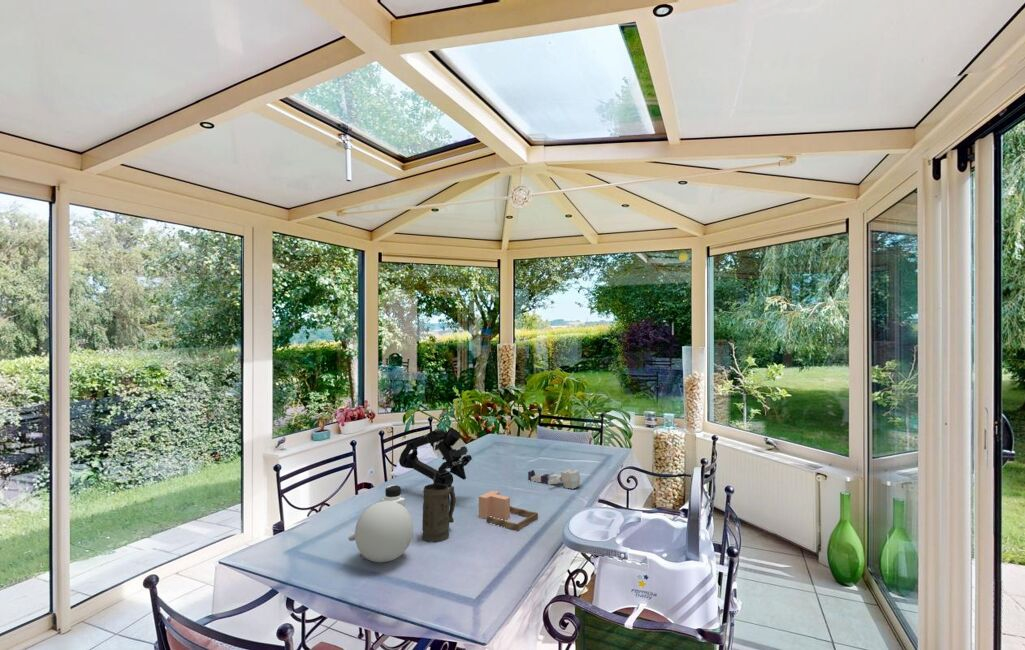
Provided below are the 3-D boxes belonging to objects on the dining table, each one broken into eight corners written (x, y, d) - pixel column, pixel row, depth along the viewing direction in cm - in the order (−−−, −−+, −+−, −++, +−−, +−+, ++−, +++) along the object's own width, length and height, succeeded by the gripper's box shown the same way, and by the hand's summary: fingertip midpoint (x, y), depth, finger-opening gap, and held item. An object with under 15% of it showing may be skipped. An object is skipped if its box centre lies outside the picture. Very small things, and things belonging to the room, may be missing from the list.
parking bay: (486, 522, 197) (486, 516, 197) (507, 511, 210) (507, 505, 210) (517, 531, 188) (517, 525, 188) (537, 518, 201) (537, 513, 201)
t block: (478, 517, 203) (478, 496, 204) (492, 510, 212) (492, 490, 212) (500, 523, 197) (500, 501, 197) (514, 515, 205) (514, 495, 205)
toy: (539, 465, 268) (586, 466, 251) (540, 481, 267) (588, 483, 250) (519, 473, 251) (568, 475, 234) (521, 490, 250) (570, 493, 233)
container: (405, 516, 204) (405, 486, 205) (389, 521, 199) (390, 490, 199) (395, 511, 209) (395, 482, 210) (380, 516, 204) (380, 486, 204)
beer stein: (435, 545, 175) (438, 491, 177) (414, 538, 181) (417, 486, 182) (460, 533, 188) (463, 483, 190) (440, 528, 194) (443, 479, 195)
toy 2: (390, 542, 177) (391, 490, 178) (423, 557, 165) (424, 501, 166) (344, 561, 162) (344, 504, 163) (376, 579, 150) (377, 517, 151)
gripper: (443, 445, 211) (461, 473, 204) (469, 438, 226) (487, 464, 219) (430, 459, 215) (447, 488, 208) (457, 452, 230) (474, 478, 224)
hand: (465, 479), depth 215 cm, fingers closed
